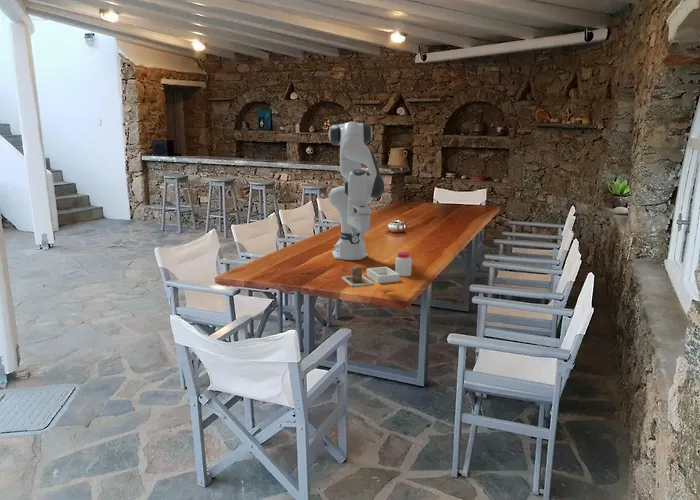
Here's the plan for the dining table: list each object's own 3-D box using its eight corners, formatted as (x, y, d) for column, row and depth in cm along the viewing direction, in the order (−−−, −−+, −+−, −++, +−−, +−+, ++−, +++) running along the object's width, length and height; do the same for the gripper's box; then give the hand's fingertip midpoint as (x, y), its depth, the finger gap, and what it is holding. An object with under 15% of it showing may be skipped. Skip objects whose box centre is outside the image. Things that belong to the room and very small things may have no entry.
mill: (350, 280, 245) (350, 267, 243) (359, 279, 246) (359, 266, 245) (354, 283, 241) (354, 269, 239) (363, 282, 242) (363, 268, 241)
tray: (341, 279, 248) (341, 276, 248) (361, 277, 252) (361, 274, 251) (352, 288, 236) (352, 284, 235) (373, 286, 239) (373, 282, 239)
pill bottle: (409, 273, 260) (410, 251, 257) (412, 277, 252) (412, 255, 249) (394, 273, 259) (394, 251, 257) (396, 277, 252) (396, 255, 249)
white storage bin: (366, 276, 254) (366, 268, 253) (386, 274, 257) (386, 266, 256) (378, 285, 241) (378, 276, 240) (399, 282, 244) (399, 274, 243)
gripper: (343, 204, 245) (343, 233, 248) (359, 211, 226) (358, 243, 229) (356, 203, 247) (356, 232, 250) (373, 210, 228) (372, 242, 231)
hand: (357, 237), depth 239 cm, fingers open, 8 cm apart
